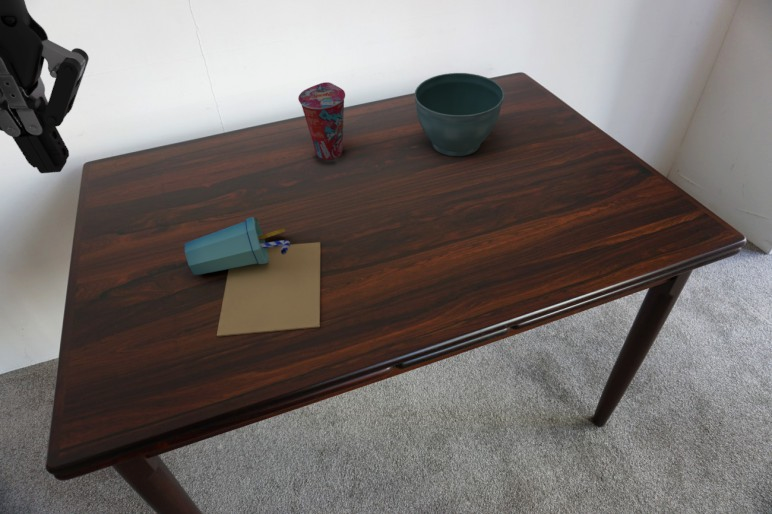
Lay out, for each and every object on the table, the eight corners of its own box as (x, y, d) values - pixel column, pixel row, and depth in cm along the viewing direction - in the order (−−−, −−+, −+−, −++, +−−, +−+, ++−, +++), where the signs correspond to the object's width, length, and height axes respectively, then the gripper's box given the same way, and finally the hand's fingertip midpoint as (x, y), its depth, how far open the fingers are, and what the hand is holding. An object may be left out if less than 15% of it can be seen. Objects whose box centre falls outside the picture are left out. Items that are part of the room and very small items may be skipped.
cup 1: (193, 304, 72) (298, 274, 74) (171, 254, 69) (282, 224, 70) (205, 267, 85) (295, 242, 86) (188, 223, 82) (281, 198, 83)
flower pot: (448, 178, 95) (451, 124, 87) (398, 139, 105) (397, 88, 97) (514, 148, 101) (523, 96, 93) (461, 114, 110) (465, 65, 103)
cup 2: (357, 158, 100) (351, 100, 92) (315, 169, 98) (305, 111, 90) (341, 134, 107) (335, 78, 98) (301, 144, 105) (291, 88, 96)
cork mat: (217, 336, 71) (216, 335, 71) (232, 250, 83) (232, 249, 83) (319, 327, 71) (319, 326, 71) (320, 243, 84) (320, 242, 83)
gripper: (-236, -40, 29) (-47, 201, 42) (2, -56, 30) (121, 187, 42) (-150, -73, 35) (-4, 149, 47) (51, -86, 35) (144, 138, 47)
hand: (55, 167), depth 44 cm, fingers closed
